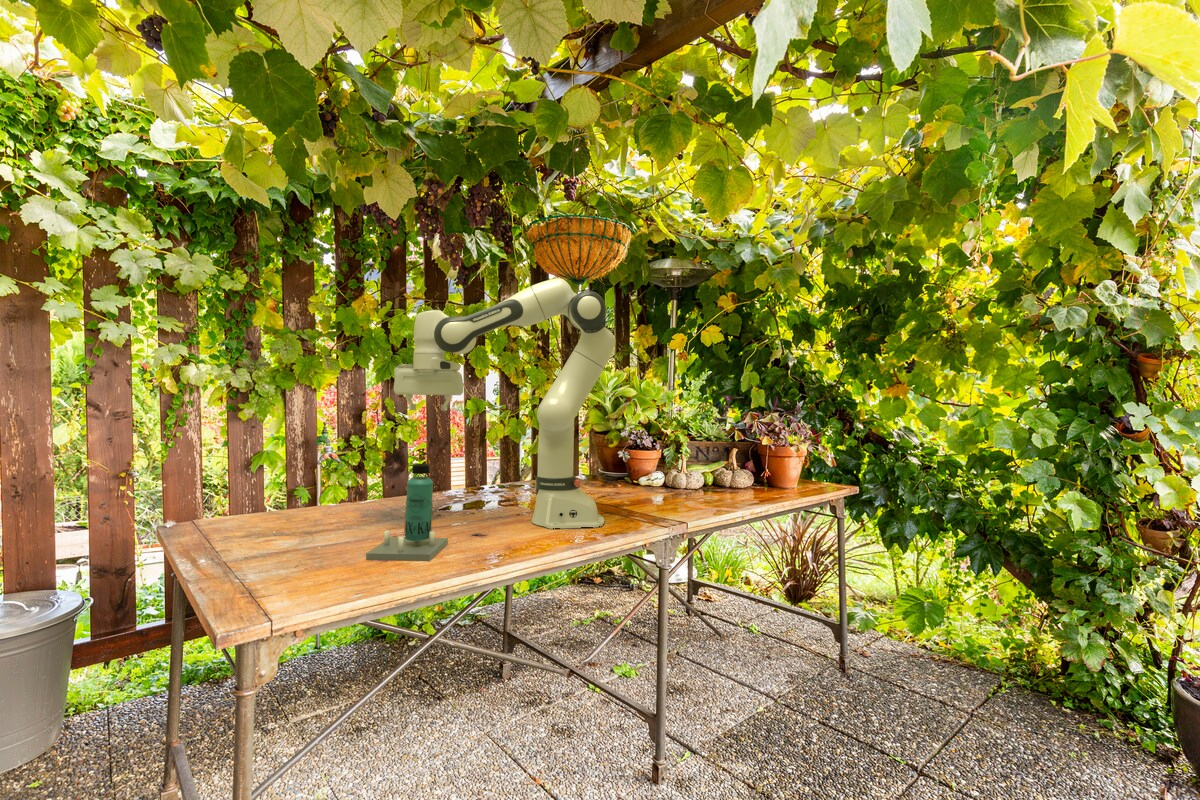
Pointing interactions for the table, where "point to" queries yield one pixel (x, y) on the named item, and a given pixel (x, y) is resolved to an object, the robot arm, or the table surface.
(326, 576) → the table surface
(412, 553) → the pin plate
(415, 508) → the beverage bottle
